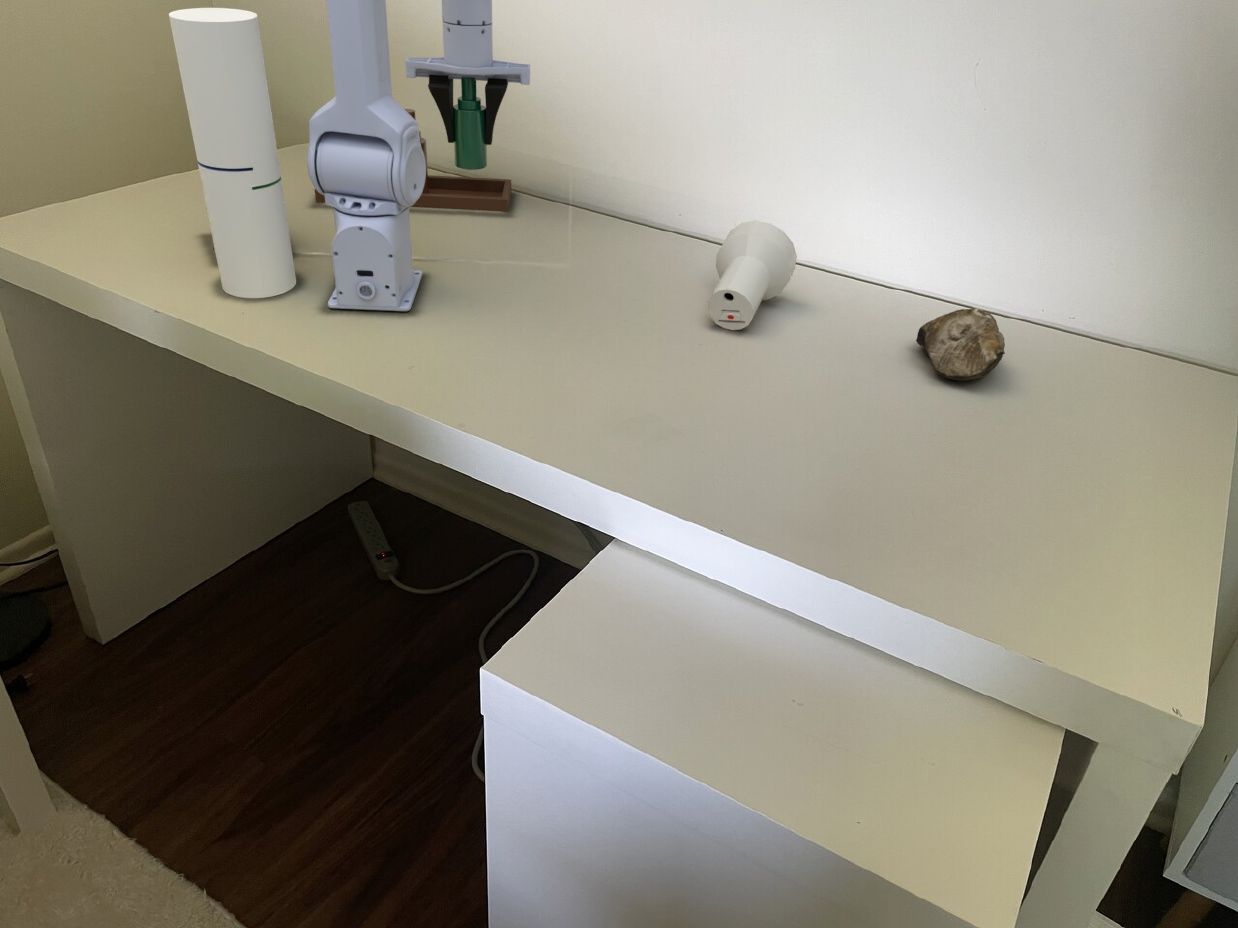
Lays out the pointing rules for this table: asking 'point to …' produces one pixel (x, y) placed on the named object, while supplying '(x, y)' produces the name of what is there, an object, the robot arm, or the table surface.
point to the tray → (461, 194)
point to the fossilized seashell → (963, 344)
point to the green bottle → (469, 128)
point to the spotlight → (750, 272)
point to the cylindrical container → (235, 148)
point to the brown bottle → (424, 148)
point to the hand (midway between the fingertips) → (470, 141)
